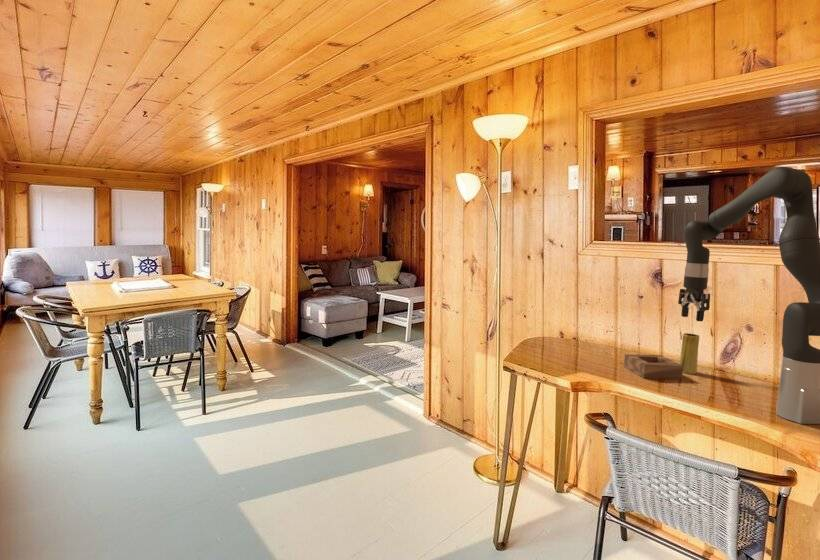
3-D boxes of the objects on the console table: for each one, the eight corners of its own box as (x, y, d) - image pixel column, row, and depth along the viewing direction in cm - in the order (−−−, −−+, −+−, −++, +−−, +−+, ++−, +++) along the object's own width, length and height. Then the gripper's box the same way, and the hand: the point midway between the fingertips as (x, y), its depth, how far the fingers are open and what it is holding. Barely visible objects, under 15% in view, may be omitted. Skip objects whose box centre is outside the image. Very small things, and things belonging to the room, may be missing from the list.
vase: (699, 375, 174) (703, 337, 172) (681, 373, 175) (685, 335, 173) (693, 370, 179) (696, 333, 178) (675, 368, 181) (679, 332, 179)
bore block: (681, 379, 168) (683, 365, 167) (643, 378, 167) (644, 364, 167) (659, 367, 182) (660, 354, 181) (623, 366, 181) (624, 354, 180)
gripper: (719, 277, 166) (714, 323, 168) (693, 273, 180) (689, 315, 182) (699, 277, 166) (694, 322, 168) (674, 273, 180) (670, 315, 182)
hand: (691, 318), depth 175 cm, fingers open, 8 cm apart
